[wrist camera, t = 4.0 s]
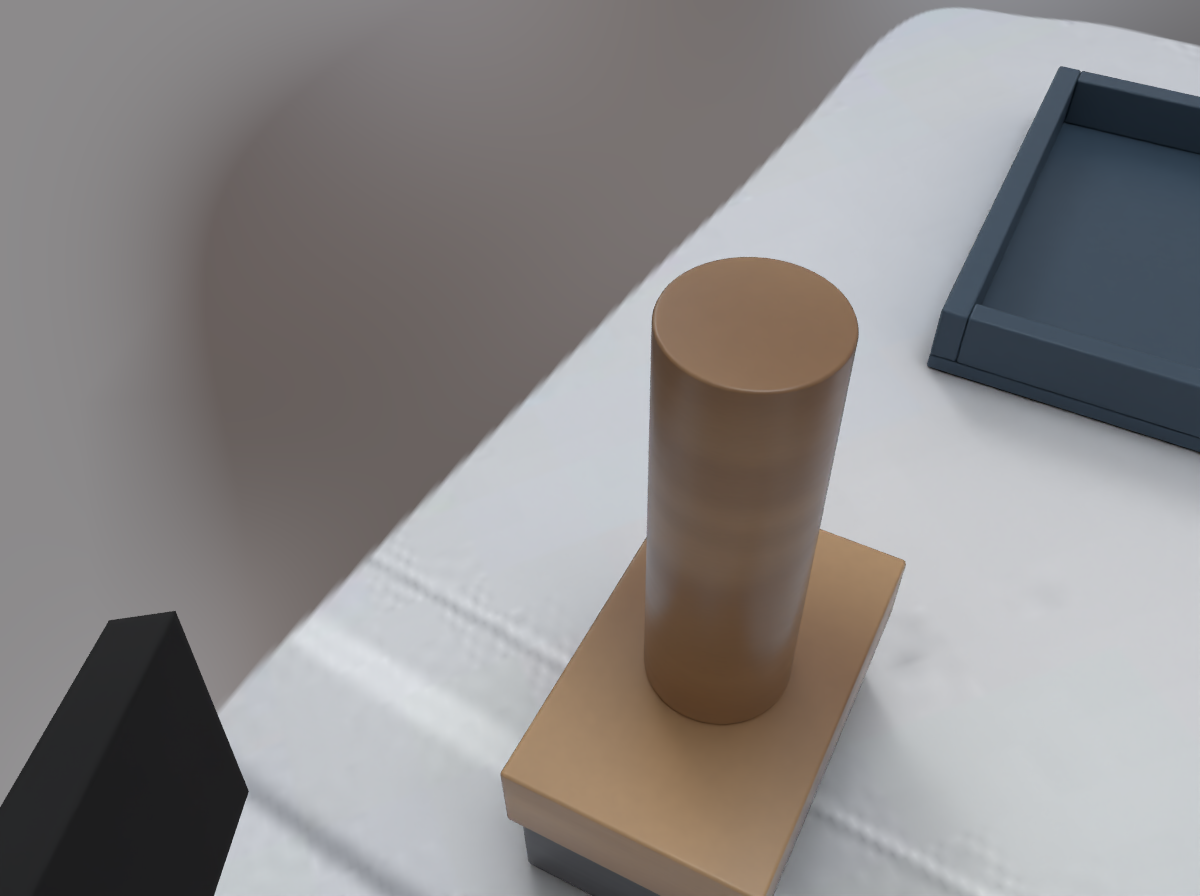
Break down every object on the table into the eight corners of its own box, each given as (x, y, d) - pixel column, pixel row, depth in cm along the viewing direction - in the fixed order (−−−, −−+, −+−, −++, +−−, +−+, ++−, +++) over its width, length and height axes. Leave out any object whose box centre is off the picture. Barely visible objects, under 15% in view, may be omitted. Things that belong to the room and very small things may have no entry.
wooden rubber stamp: (743, 985, 23) (832, 603, 13) (514, 866, 25) (442, 448, 15) (875, 667, 28) (1012, 213, 18) (676, 586, 30) (702, 131, 20)
